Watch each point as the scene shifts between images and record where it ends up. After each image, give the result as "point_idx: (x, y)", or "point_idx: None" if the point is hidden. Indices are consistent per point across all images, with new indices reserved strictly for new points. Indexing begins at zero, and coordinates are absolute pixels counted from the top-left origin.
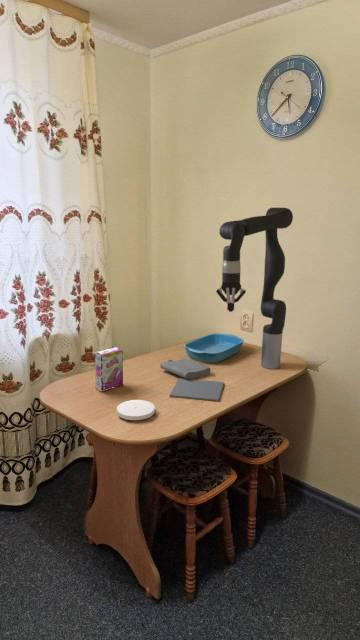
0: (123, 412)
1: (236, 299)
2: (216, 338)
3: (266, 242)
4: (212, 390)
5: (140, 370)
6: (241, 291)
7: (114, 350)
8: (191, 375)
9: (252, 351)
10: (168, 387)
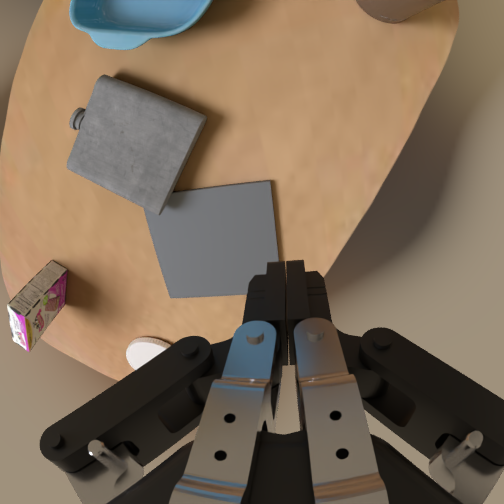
0: None
1: (366, 404)
2: None
3: None
4: (254, 248)
5: (44, 178)
6: (454, 475)
7: (21, 326)
8: (169, 194)
9: None
10: (144, 251)
